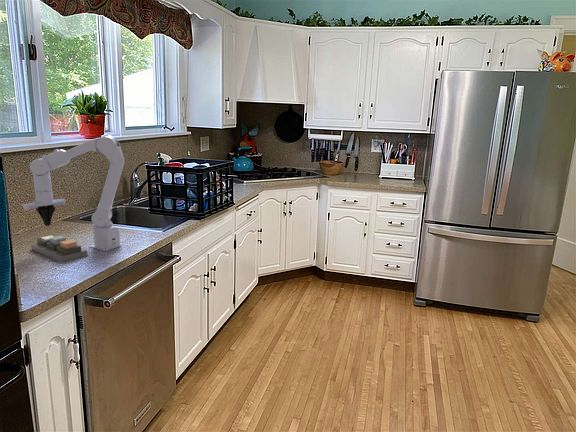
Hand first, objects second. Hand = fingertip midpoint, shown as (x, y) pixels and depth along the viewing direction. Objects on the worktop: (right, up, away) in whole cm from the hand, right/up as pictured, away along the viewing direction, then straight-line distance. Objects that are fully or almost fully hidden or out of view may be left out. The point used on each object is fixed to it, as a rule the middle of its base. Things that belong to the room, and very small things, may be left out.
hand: (47, 225), depth 162 cm
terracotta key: (+12, -8, -7) cm, 16 cm away
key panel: (+6, -10, -2) cm, 12 cm away
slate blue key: (+6, -7, -3) cm, 9 cm away
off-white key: (0, -7, +2) cm, 7 cm away
